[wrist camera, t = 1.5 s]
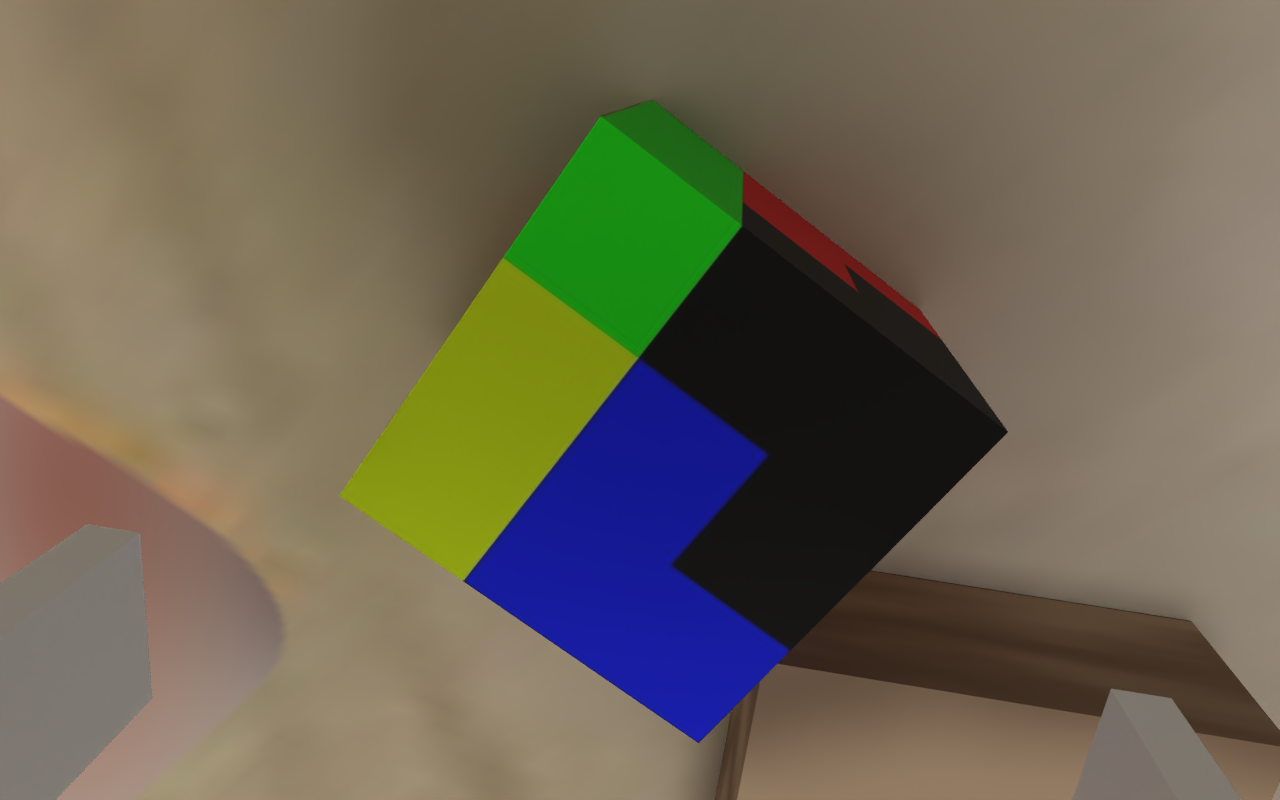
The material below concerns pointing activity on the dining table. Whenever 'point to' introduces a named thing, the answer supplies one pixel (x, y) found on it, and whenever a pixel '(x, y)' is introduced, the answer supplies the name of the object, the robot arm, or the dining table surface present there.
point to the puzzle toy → (674, 424)
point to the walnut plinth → (975, 699)
